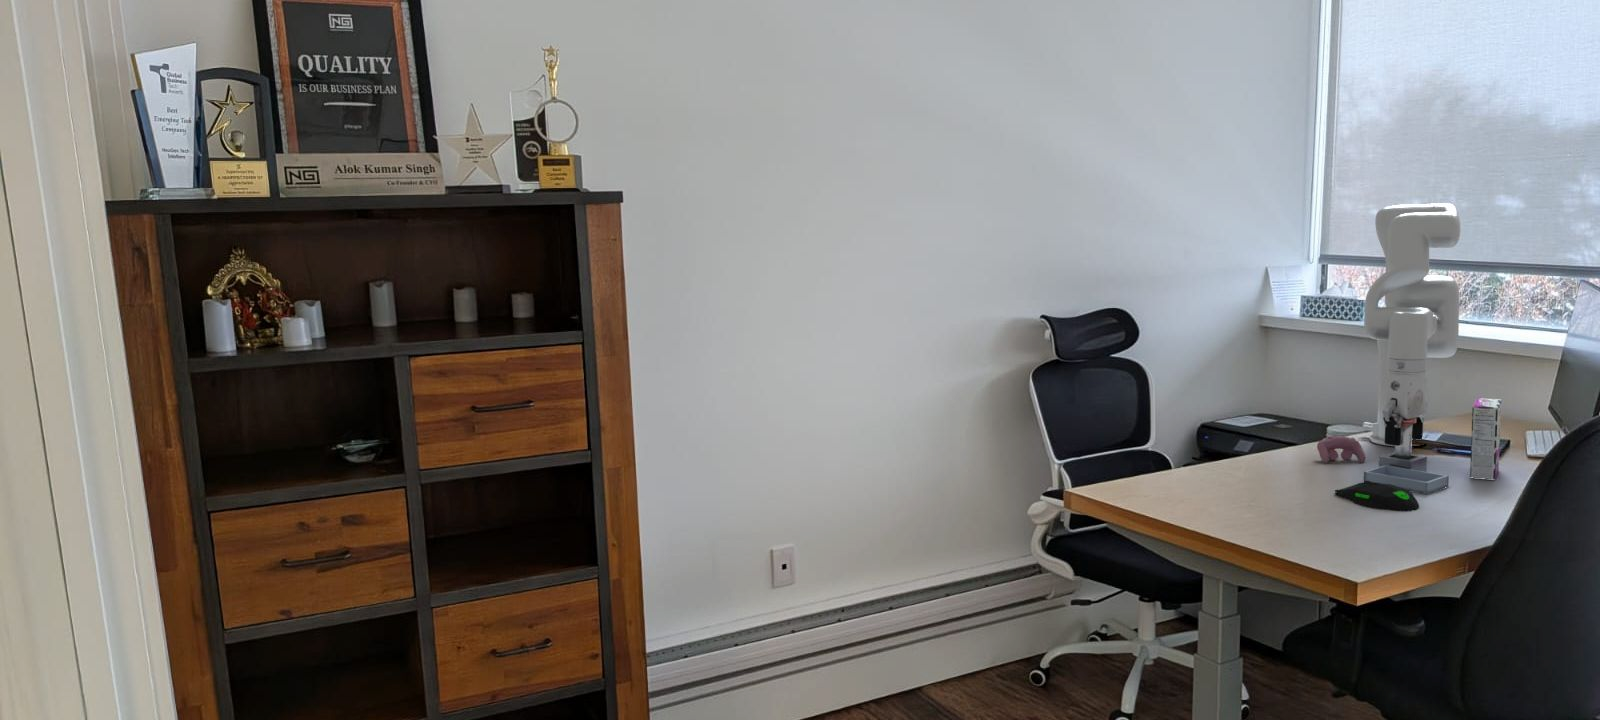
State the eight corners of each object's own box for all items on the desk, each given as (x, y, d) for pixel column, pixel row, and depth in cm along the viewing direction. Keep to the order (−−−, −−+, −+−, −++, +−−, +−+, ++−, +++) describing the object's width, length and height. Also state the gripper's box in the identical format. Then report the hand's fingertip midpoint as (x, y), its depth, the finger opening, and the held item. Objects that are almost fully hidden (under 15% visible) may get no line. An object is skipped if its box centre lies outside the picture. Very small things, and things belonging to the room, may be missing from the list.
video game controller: (1360, 466, 247) (1355, 437, 250) (1368, 461, 243) (1363, 433, 245) (1317, 466, 248) (1313, 438, 251) (1324, 462, 244) (1320, 433, 246)
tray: (1363, 482, 226) (1363, 471, 226) (1384, 475, 232) (1385, 465, 231) (1427, 494, 216) (1427, 482, 215) (1448, 487, 221) (1448, 475, 220)
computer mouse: (1386, 516, 203) (1387, 496, 203) (1322, 496, 219) (1323, 477, 218) (1432, 510, 206) (1432, 490, 206) (1366, 490, 222) (1366, 472, 221)
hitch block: (1378, 473, 234) (1378, 456, 233) (1393, 468, 237) (1394, 451, 237) (1410, 479, 228) (1411, 461, 227) (1426, 474, 232) (1426, 456, 231)
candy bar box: (1472, 468, 236) (1476, 397, 234) (1498, 470, 233) (1502, 399, 231) (1468, 478, 227) (1471, 405, 225) (1495, 481, 224) (1499, 407, 222)
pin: (1386, 473, 233) (1388, 417, 232) (1396, 470, 236) (1399, 414, 234) (1407, 477, 230) (1410, 420, 228) (1417, 474, 232) (1420, 417, 230)
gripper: (1404, 371, 221) (1401, 449, 223) (1443, 364, 231) (1440, 439, 233) (1369, 368, 228) (1366, 444, 230) (1408, 361, 237) (1405, 434, 239)
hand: (1403, 441), depth 231 cm, fingers open, 9 cm apart
